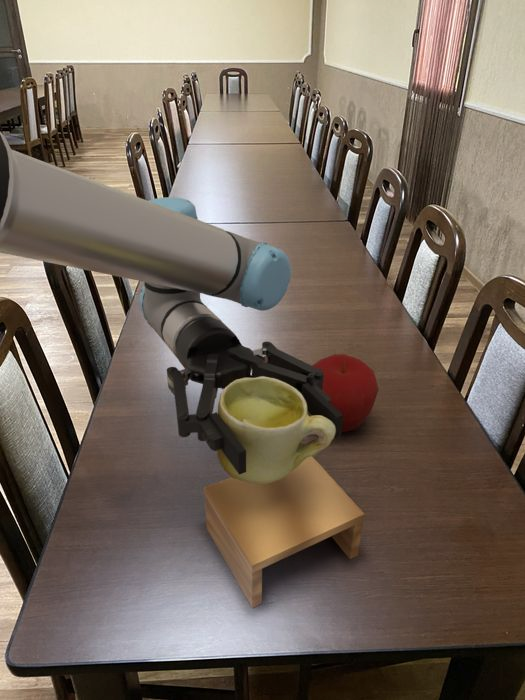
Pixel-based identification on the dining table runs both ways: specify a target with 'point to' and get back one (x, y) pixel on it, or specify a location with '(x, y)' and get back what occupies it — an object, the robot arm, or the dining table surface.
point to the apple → (349, 387)
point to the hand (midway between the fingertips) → (293, 443)
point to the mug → (270, 428)
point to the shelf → (278, 521)
